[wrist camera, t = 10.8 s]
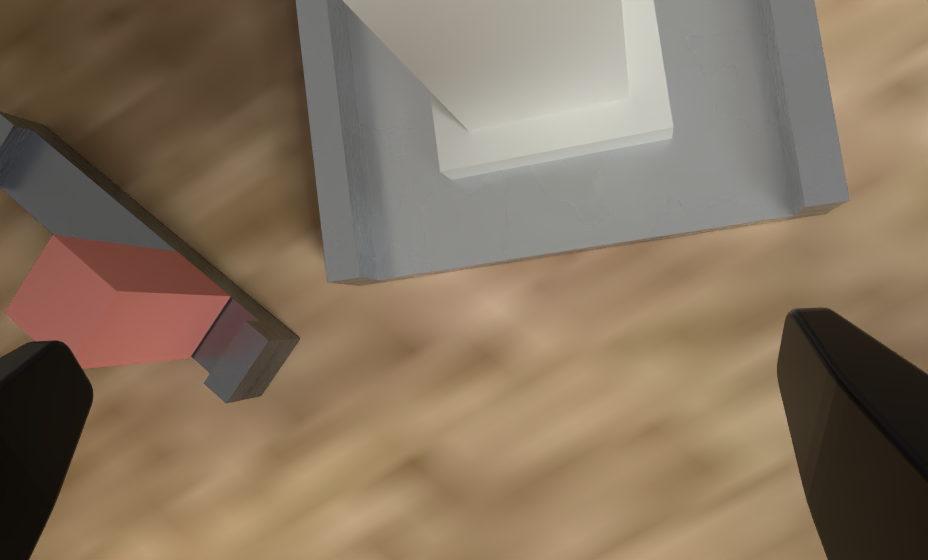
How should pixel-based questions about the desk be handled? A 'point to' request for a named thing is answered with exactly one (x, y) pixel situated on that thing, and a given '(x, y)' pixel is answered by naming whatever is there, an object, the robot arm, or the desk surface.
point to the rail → (125, 222)
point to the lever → (116, 302)
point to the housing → (529, 76)
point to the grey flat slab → (581, 177)
